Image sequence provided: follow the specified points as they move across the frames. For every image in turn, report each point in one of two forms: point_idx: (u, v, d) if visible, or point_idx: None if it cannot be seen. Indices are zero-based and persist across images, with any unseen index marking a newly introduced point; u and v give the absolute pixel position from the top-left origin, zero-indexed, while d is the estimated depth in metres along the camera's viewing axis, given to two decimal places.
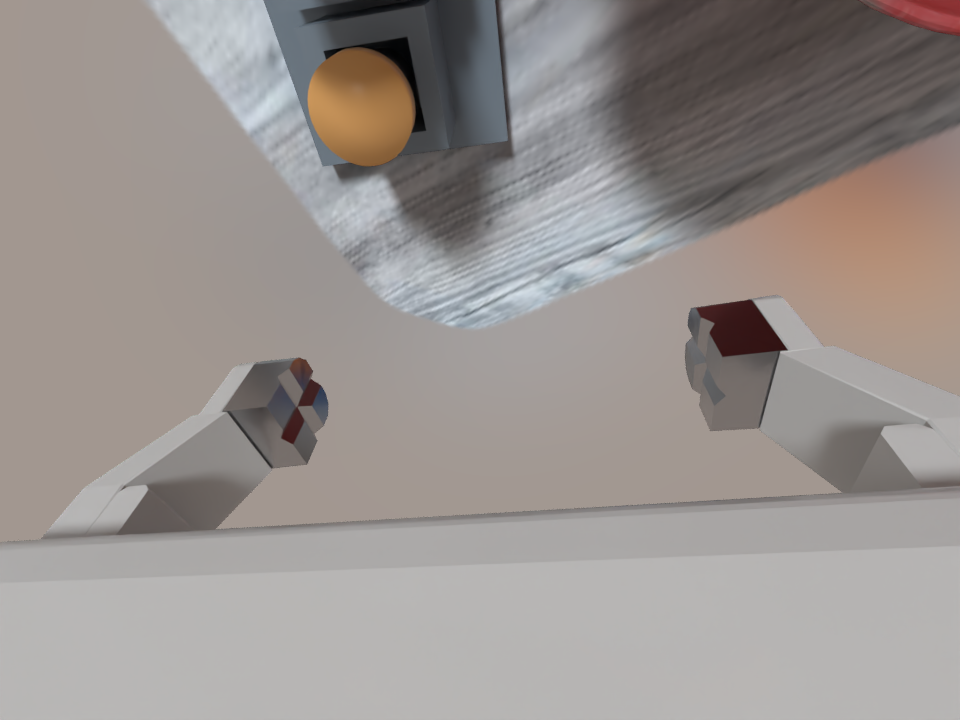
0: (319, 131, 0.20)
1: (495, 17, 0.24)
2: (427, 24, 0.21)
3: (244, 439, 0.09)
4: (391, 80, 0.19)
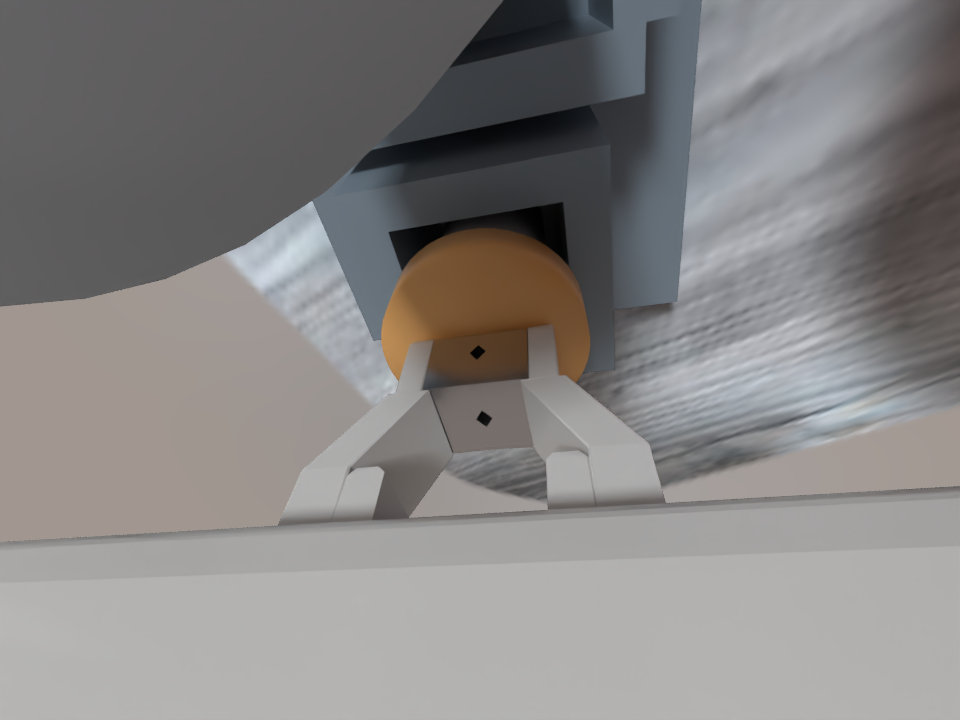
0: None
1: (689, 121, 0.13)
2: None
3: (438, 420, 0.08)
4: (558, 299, 0.09)
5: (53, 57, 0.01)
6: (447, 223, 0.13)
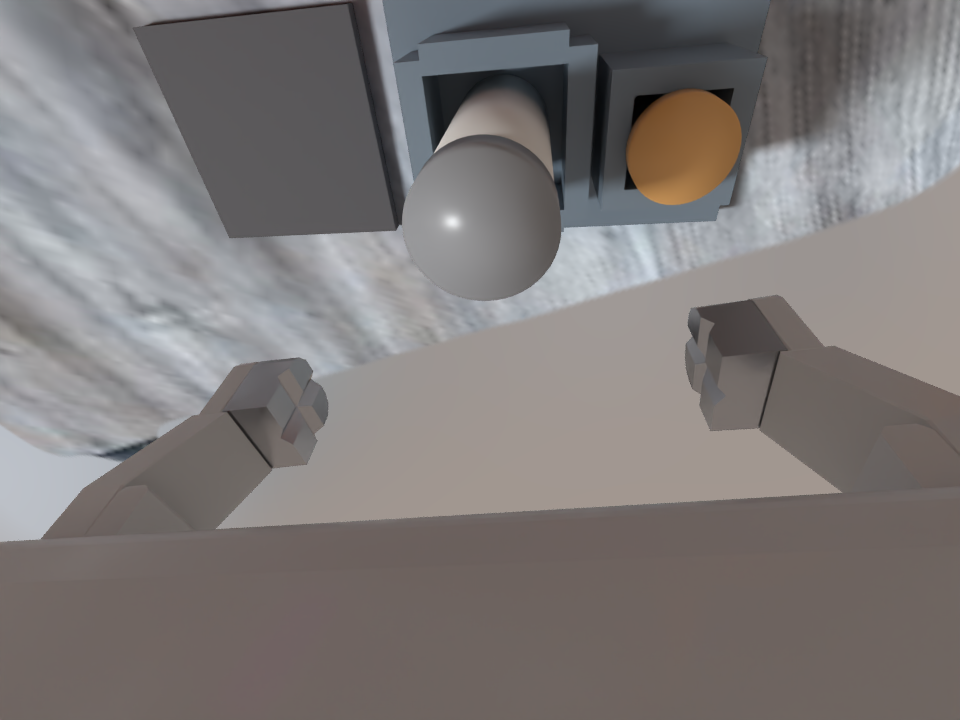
0: (686, 199, 0.21)
1: None
2: (629, 68, 0.19)
3: (244, 439, 0.09)
4: (665, 111, 0.18)
5: (541, 216, 0.14)
6: None
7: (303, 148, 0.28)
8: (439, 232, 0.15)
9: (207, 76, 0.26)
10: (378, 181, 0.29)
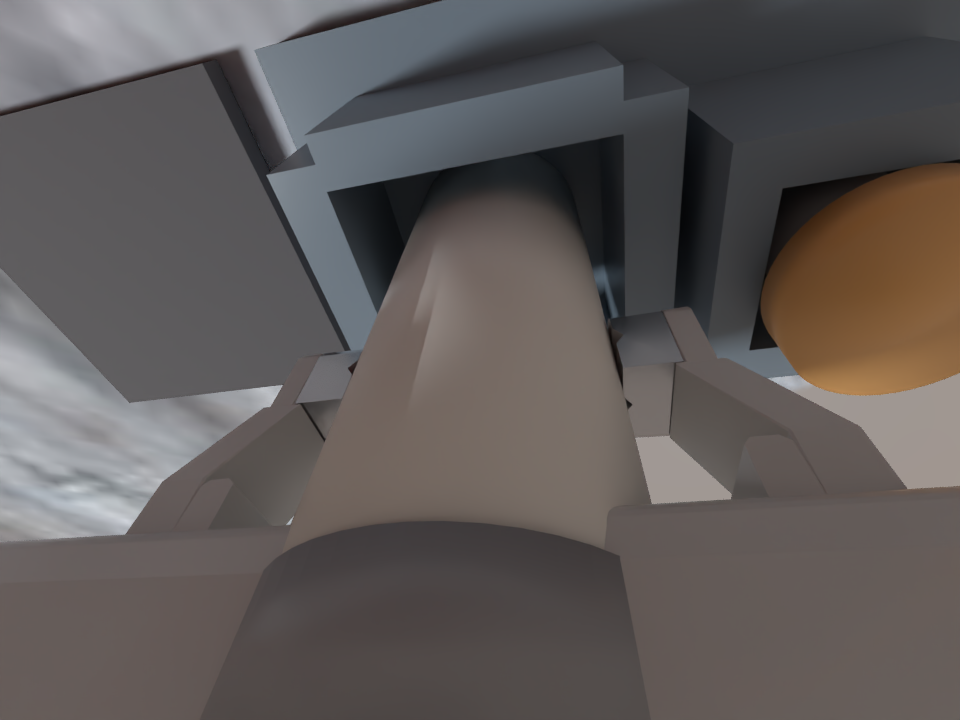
0: (906, 385, 0.10)
1: None
2: (771, 134, 0.08)
3: (315, 432, 0.09)
4: (887, 233, 0.08)
5: None
6: None
7: (195, 285, 0.18)
8: None
9: (21, 203, 0.16)
10: (317, 317, 0.19)
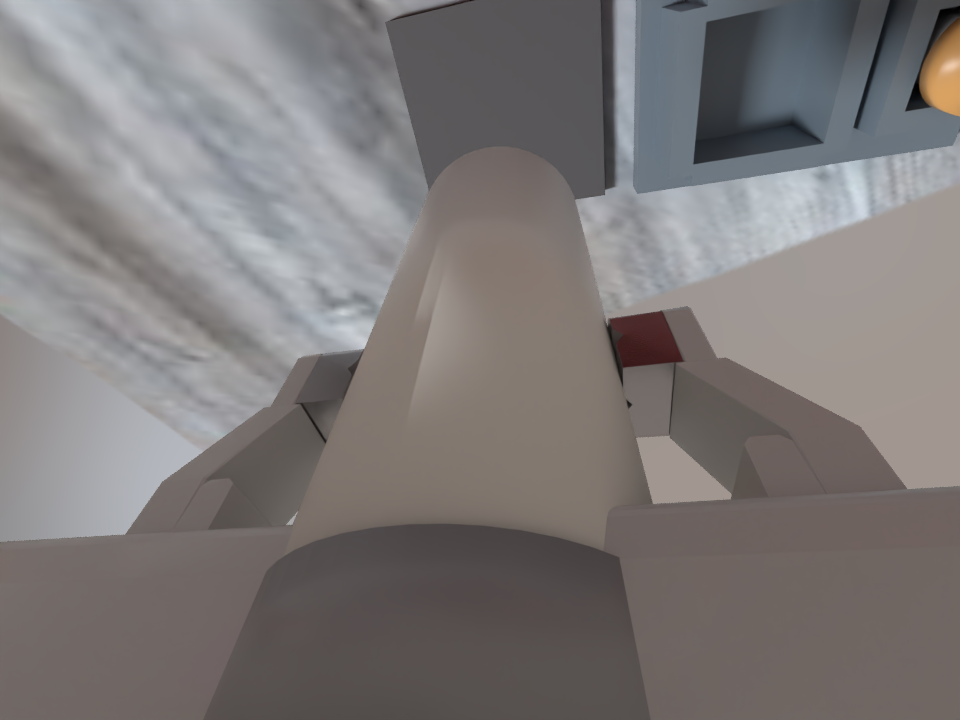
0: None
1: None
2: None
3: (315, 432, 0.09)
4: None
5: None
6: None
7: (528, 121, 0.29)
8: None
9: (447, 60, 0.27)
10: (596, 146, 0.30)
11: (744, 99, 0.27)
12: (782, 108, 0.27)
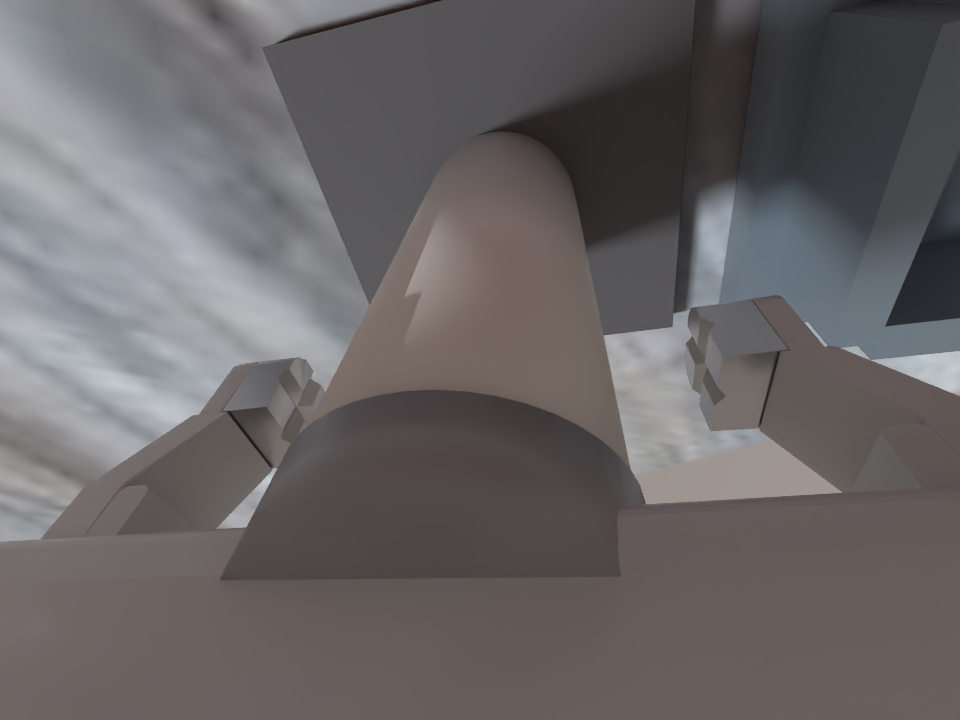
0: None
1: None
2: None
3: (244, 439, 0.09)
4: None
5: None
6: None
7: None
8: None
9: (389, 117, 0.14)
10: (664, 256, 0.17)
11: None
12: None
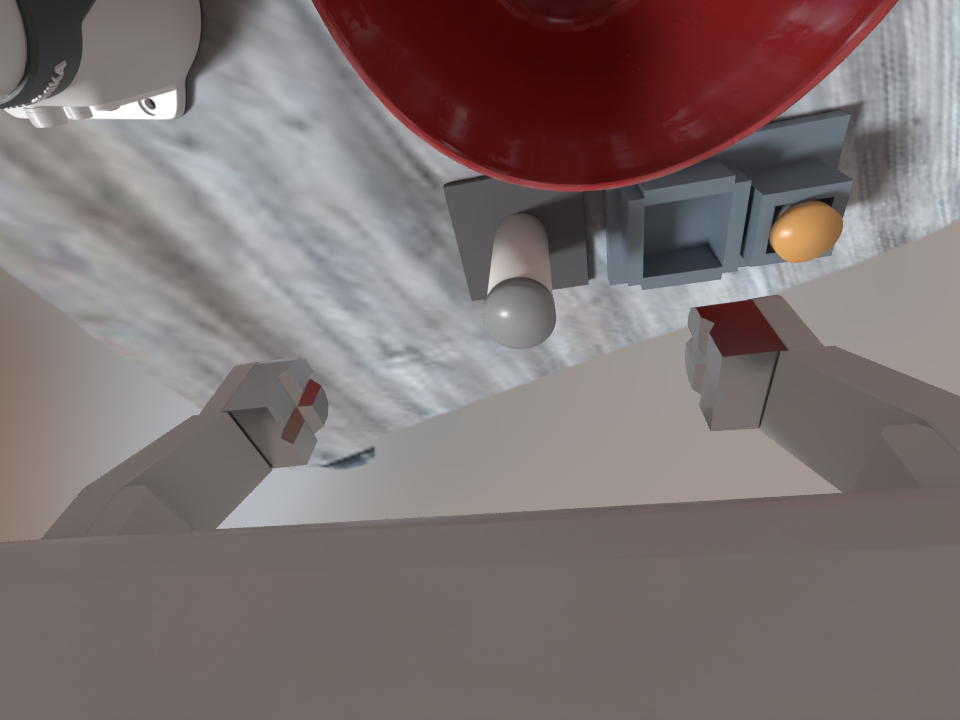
0: (809, 258, 0.35)
1: (761, 131, 0.36)
2: (772, 193, 0.34)
3: (244, 439, 0.09)
4: (798, 216, 0.33)
5: (546, 310, 0.32)
6: None
7: None
8: (500, 321, 0.33)
9: (482, 208, 0.42)
10: (582, 256, 0.44)
11: (675, 231, 0.41)
12: (700, 237, 0.42)
